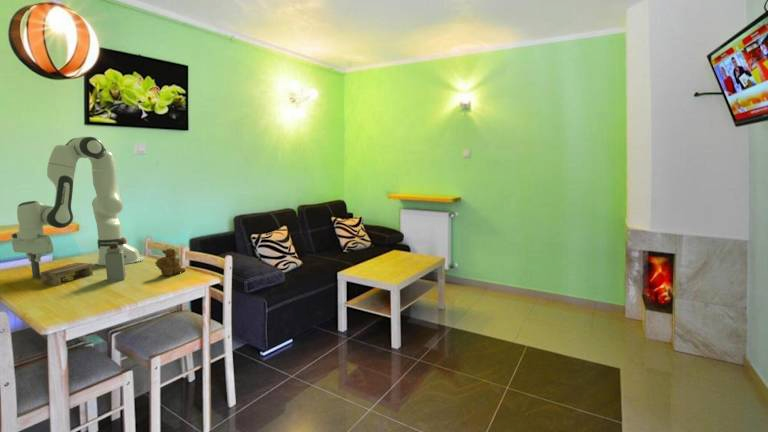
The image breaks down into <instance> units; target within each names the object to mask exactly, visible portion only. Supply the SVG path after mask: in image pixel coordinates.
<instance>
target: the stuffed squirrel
mask: <svg viewBox="0 0 768 432" xmlns="http://www.w3.org/2000/svg"><path fill="white" fill-rule="evenodd" d="M161 252H162V253H163V254H165V255H164V256H162V257H160V258H157V260H156V261H155V266H156V267H157V268H158V269H159V270H160V271H161V272H160V273H161V274H162V276H164V277H172V276H173V275H177V274H176V273H178V274H181V273H180V272H182V273H184V272H186V271H187V269H186V268H185V267H181V265H180V262H181V259H180V258H179V257H176V256H177V255H178V252H177V251H176V249H174V248H173V247H169V248H166V249H163V250H161ZM185 270H186V271H185ZM183 271H184V272H183ZM171 275H172V276H171Z"/></svg>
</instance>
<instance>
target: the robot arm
mask: <svg viewBox="0 0 768 432" xmlns="http://www.w3.org/2000/svg"><path fill="white" fill-rule="evenodd" d="M81 158H82V159H88V160H89V161H90V163H91V175H92V184H93V187H94V191H95V195H96V196H95V197H94V198H93V200H92V201H91V205H92V211H93V214H94V219H95V222H96V228H97V229H96V230H97V249H98V259H97V263H96V264H97V265H98V266H106V262H105V254H106V252H107V250H106V249H107V248H108V247H109V244H110V243H118V247H119V246H121V251H122V250H123V252H124V263H125V265H129V264H134V263H135V262H136V263H140V261H141V262H143V261H144V260H143V259H145V258H144V256H143V255H140V252H139V250H138V249H137V248H136V247H134V246H132V245H131V244H129V243H128V242H127V241H128V239H127V237H123V236H122V235H123V234H122V225H121V222H120V220H119V215H118V214H120V212H122V211H123V207H124V203H123V201H122V198H121V197H122V196H121V193H120V192H121V191H120V189H119V184H118V177H117V176H118V175H117V168H116V167H117V166H116V161H115V158H114V155H113V153H112V152H111V151H108V150H107V149H106V148H105V145H104V144H103V142H102V141H101V140H100V139H98V138H96V137H93V136H80V137H74V138H71V139H70V140H69V141H68V142H67V143H66V144H58V145H55V146H54V147H53V149H52V152H51V153H50V156H49V159H48V164H47V170H46V172H47V173H46V176H47V178H48V179H49V180H50V182H52V183H53V185H54V186H55V190H56V191H55V198H54V205H53V206H51V205H47V204H45V203H41V202H39V201H37V200H31V201H24V202H21V203H19V204H18V206H17V208H16V209H17V211H16V215H17V222H18V224H19V225H18V231H16V232H14V233H11V235H10V237H11V238H12V239H11V245H12V250H13V252H14V253H18V254H19V253H20V254H21V253H22V254H23V253H24V254H25V256H26V257H27V258H28V262H30V263H31V257H30V254H35V255H37V256H36V258H35V259H34V260H35V262H39V263H40V262H41V261H42V259H41V258H42V256H43V255H47V254H49V255H50V254H52V253H54V245H53V242H52V238H51V237H50V236H49V235H48V234H44V227H43V226H46V225H47V226H50V227H54V228H55V229H56V228H57V229H63V228H66V227H68V226H70V225H71V223H73V220H74V214H73V212H72V211H73V210H72V200H73V199H72V198H73V192H74V191H73V190H74V179H75V172H76V170H77V169H76V168H77V163H78V161H79V160H80V159H81ZM142 260H143V261H142Z"/></svg>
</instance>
